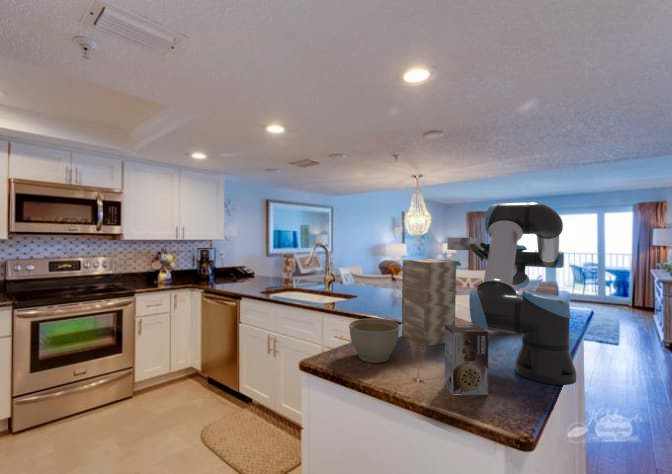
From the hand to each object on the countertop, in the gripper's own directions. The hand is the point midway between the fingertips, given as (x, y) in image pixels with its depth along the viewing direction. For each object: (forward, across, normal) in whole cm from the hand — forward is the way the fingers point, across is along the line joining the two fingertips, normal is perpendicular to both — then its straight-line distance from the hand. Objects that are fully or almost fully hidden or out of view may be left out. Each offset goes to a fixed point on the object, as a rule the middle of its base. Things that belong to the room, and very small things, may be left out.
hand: (471, 240), depth 143 cm
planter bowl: (+28, -8, -60) cm, 67 cm away
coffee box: (+21, -38, -56) cm, 71 cm away
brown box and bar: (-1, 0, -4) cm, 4 cm away
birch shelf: (0, 0, -44) cm, 44 cm away
